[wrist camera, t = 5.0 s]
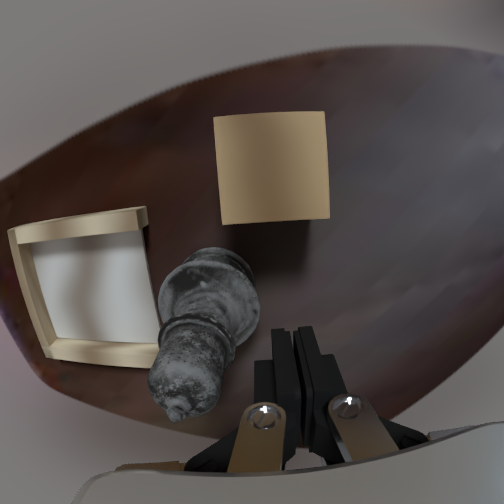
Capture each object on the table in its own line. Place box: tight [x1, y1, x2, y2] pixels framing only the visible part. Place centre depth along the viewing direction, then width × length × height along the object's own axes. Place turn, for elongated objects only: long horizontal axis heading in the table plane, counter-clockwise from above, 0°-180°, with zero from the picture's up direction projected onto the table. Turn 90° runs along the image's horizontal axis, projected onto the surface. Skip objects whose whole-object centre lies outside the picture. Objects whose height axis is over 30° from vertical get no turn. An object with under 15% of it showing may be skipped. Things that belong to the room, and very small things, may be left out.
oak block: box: [213, 112, 330, 225], centre depth 16 cm, size 5×5×5 cm
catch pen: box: [7, 206, 161, 368], centre depth 20 cm, size 12×11×2 cm
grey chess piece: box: [147, 247, 260, 423], centre depth 14 cm, size 6×6×12 cm
